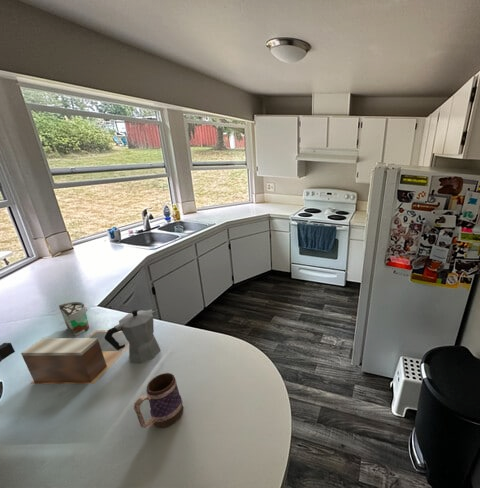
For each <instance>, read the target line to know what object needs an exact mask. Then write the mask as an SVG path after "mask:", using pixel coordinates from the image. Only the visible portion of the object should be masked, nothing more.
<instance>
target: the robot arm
mask: <svg viewBox="0 0 480 488" xmlns="http://www.w3.org/2000/svg"><path fill="white" fill-rule="evenodd" d="M14 353H16V351H15V349H14V347H13V345H12V343H11V342H3V343H1V344H0V362H2V361H3V360H5V359H6V358H8V357H10V356H11V355H12V354H14Z"/></svg>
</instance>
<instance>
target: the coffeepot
mask: <svg viewBox="0 0 480 488" xmlns="http://www.w3.org/2000/svg"><path fill="white" fill-rule="evenodd" d="M157 312H158V309H157V308H152V309H147V310H142V309H141V310H138V309H132V310H131V313H128V314H126V315H125V316H123V317H122V318H120V319H119V320H118V324H117V325H114V326H113V327H111V328H109V329H107V330H108V332H107V333H106V335H105V340H106V341H108V342H109V343H110V344H111V345H112V346H113V347H114V348H115V349H116V350H120V349H122V348H124V347H125V344H124V345H121V346H119V343H118V342H117V341H115V339H114V337H112V335H113V334H114V333H116V332H119V331H121V330H122V332H123V334H124V335H125V337H126V339H127V341H128V342H129V347H128V353H129V355H128V357H129V363H131V364H132V363H133V364H143V363H146V362H147V361H150V360H153V359H155V357H156V356H157V355H158V354H159V353H160V352H161V347H160V345H159V343H158V340H157V339H156V336H155V335H154V334H155V330H154V328H155V327H154V318H155V316H156V315H157V314H156V313H157Z"/></svg>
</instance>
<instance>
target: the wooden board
mask: <svg viewBox="0 0 480 488" xmlns="http://www.w3.org/2000/svg"><path fill="white" fill-rule="evenodd" d="M108 330H109V329H95V330H94V331H93V332H92V333H91V334H90V335H88V336H87V337H86V338H98V341H99V344H100V347H101V350H102V353H103V356H104V359H105V362H106V365H107V366H106V367H105V368H104V369H103V370H102V371H101V372H100V373H99V374H98V375H97V377H96V378H95V379H94V380H93V381H92V382H38V383H35V382H34V380H32V381H31V382H30V383H29V385H83V384H84V385H85V384H95V382H96V381H98V379H99V378H101V376H103V374H104V373H105V372H106V371H107V370H108V369H109V368H110V367H111V366H112V365H113V364H115V362H116V361H117V360H118V359H119V358H120V357H121V356H122V354H123V353H125V352H126V350H128V349H129V342H128V341H127V339H126V337H125V335H124V334H123V332H122V330H121V331H119V332H116V333H114V334H113V335H112V337H114V339H115V341H117V342H118V343H119V346H121V345H124V344H125V347H124V348H122V349H120V350H116V349H115V348H114V347H113V346H112V345H111V344H110V343H109V342H108V341H106V340H105V335H106V333H107V332H108Z"/></svg>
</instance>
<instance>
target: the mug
mask: <svg viewBox="0 0 480 488" xmlns="http://www.w3.org/2000/svg"><path fill="white" fill-rule="evenodd" d="M146 394H147V395H141V396H139V397H138V398H136V400H135V401H134V405H133V410H134V412H135V414H136V417H137V420H138V423H139V426H140V427H141V428H142V429H147V428H149V427H151V426H152V425H153V426H155V427H156V428H159V429H160V428H167V427H170V426H172V425H173V424H174V423H176V422H177V421H179V419H180V418H181V417H182V415H183V412H184V406H183V399H182V396H181V394H180V391H179V388H178V384H177V379H176V377H175V375H174V374H173V373H170V372H164V373H161V374H158V375H156V376H155V377H153V378H152V379H150V380H149V382H148V383H147V385H146ZM145 401H148V403H149V408H150V409H149V412H150V417H151V418H150V419H148V420H147V421H145V419H144V416H143V413H142V411H141V406H142V404H143V402H145Z"/></svg>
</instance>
